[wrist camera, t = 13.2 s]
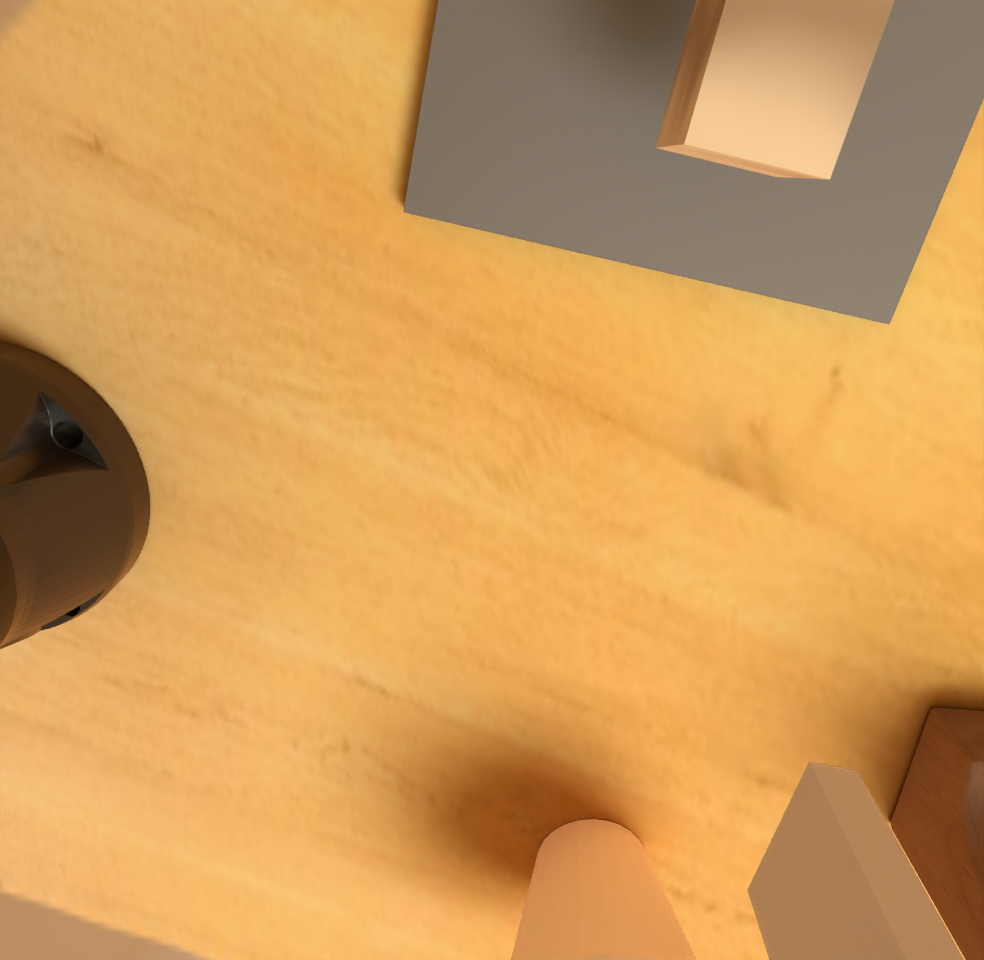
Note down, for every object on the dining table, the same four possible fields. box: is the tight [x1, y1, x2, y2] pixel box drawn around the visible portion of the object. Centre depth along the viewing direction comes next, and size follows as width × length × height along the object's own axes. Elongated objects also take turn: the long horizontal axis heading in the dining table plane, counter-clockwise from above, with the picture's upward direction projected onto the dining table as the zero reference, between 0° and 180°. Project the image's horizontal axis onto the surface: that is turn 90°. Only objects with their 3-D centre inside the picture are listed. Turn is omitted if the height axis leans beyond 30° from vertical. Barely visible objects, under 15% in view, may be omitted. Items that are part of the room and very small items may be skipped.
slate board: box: [404, 0, 984, 324], centre depth 31 cm, size 22×19×1 cm
